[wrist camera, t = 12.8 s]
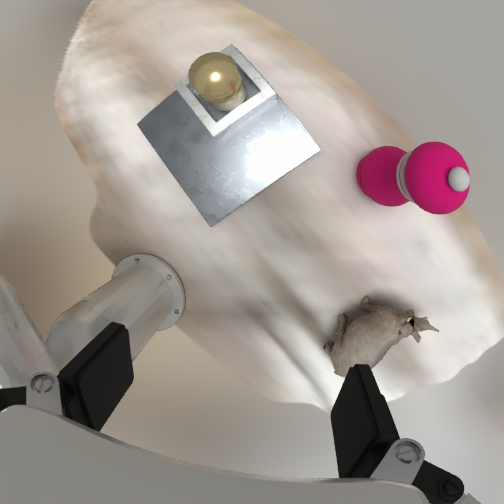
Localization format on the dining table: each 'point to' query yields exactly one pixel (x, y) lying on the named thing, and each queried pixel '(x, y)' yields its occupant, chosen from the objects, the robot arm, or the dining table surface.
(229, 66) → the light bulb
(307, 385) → the dining table surface
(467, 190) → the pepper mill
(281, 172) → the plate
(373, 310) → the rhinoceros figurine
